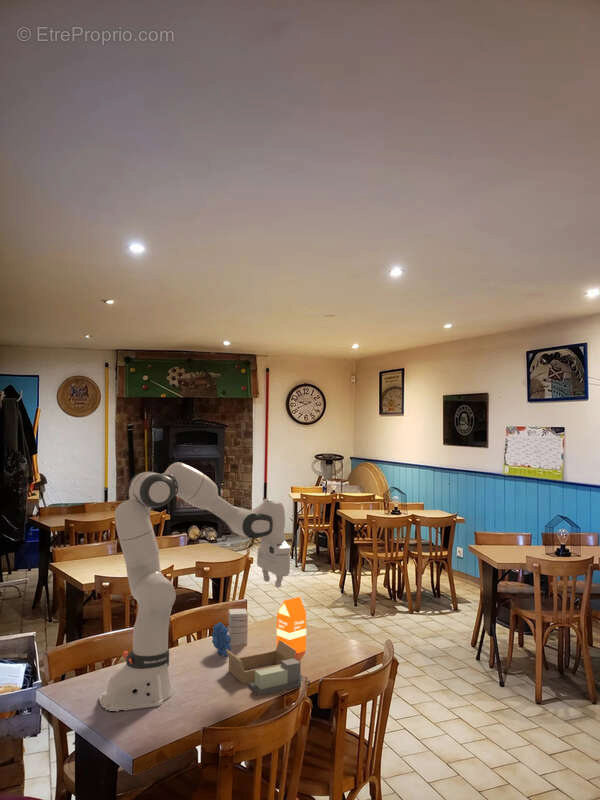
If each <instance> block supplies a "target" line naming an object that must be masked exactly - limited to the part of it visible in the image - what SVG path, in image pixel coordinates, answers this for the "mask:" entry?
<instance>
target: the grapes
mask: <svg viewBox="0 0 600 800" xmlns="http://www.w3.org/2000/svg"><path fill="white" fill-rule="evenodd" d="M212 628H213V629H212V630H213V632H212V634H211V637H212V639H211V643H212V644H213V647H214V648H215V649H216V650H217V654H218V655H219V656H223V657H228V655H227V652H226V649H228V650H229V651H230V652H231V650H232V647H233V646H231V645H230V644H229V643H230V642H231V637H230V636H229V635H228V627H226V626H225V625H224V624H223V623H222V622H220V621H219V622H218V623H216V624H214V625H213V627H212Z"/></svg>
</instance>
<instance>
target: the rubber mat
mask: <svg viewBox="0 0 600 800" xmlns="http://www.w3.org/2000/svg"><path fill="white" fill-rule="evenodd" d="M303 677H304V676H303V675H302V674H301V673H300V681H297V682H292V683H288V684H283V685H279V686H274V687H270V688H265V689H259V688H258V687H257V686H256V685H255V682H252V683H248V687H249V688H250V689H251V690H252V691H254V692H255V693H256V694H257V695H258V696H263V695H268V694H272V693H277V692H280V691H285V690H290V689H294V688H298V687H299V688H300V687H301V686H300V685H301V681H302V678H303ZM308 683H309V684H308V685H311V681H310V680H309V679H308Z"/></svg>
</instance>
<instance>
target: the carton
mask: <svg viewBox="0 0 600 800" xmlns="http://www.w3.org/2000/svg"><path fill="white" fill-rule="evenodd" d="M226 652H227V655H228V656H227V657H228V672H229V673H231V674H232V675H233V676H234V677H235V678H236V679H237V680H238V681H239V682H240V683H242V684H243V685H246V684H247V685H249V683H253V682H255V671H256V670H261V669H266V668H271V667H276V666H281V661H283V660H288V659H293V658H294V659H296V658H295V657H296V650H295V649H293V648H292V647H290V646H288V645H287V644H285V643H284V642H282V641H281V640H279V642H278V645H277V644H276V649H275V650H272V651H268V652H267V651H266V652H261V653H256V654H251V655H250V654H249V655H246V656H245V655H244V656H240V657H237V655H235V654H234V653H233V652H231V651H229V650H228V649H226ZM274 663H276V664H275V665H270V664H274ZM268 664H269V666H264V665H268ZM257 666H264V667H261V668H255V669H250V670H245V669H247V668H248V669H249V668H253V667H257Z"/></svg>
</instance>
